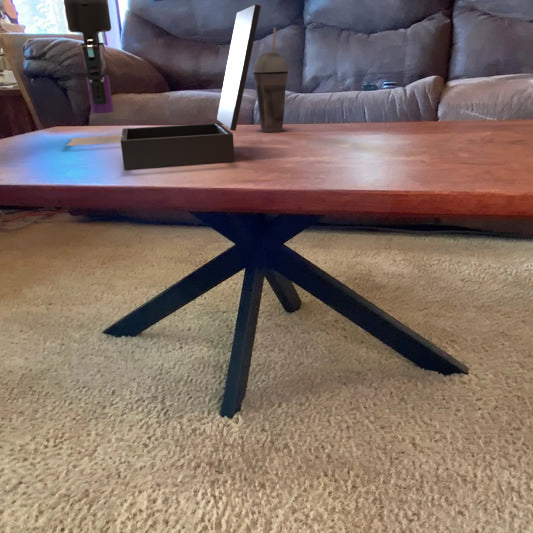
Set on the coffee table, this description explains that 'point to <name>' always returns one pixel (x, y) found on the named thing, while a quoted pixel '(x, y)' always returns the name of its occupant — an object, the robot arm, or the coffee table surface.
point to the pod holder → (176, 146)
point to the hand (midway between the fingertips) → (101, 102)
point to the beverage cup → (271, 89)
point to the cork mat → (95, 140)
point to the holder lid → (238, 66)
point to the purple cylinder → (109, 105)
